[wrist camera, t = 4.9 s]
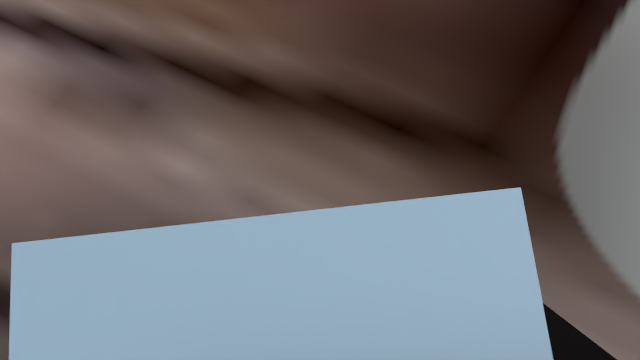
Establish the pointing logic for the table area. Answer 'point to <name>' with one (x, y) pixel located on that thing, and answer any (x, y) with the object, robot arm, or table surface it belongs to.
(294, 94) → the table surface
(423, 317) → the dusty blue block
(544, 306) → the robot arm
